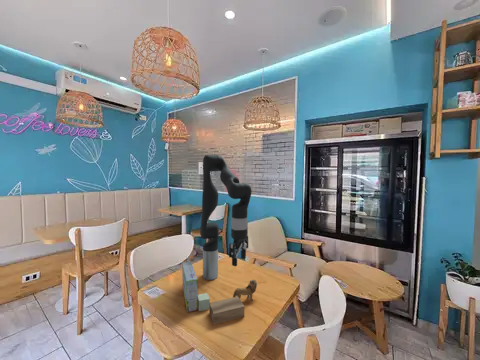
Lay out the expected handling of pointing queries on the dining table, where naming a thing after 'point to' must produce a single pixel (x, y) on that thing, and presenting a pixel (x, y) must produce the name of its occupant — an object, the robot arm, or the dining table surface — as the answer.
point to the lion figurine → (246, 290)
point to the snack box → (190, 286)
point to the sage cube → (203, 302)
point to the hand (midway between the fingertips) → (239, 262)
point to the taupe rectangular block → (226, 310)
